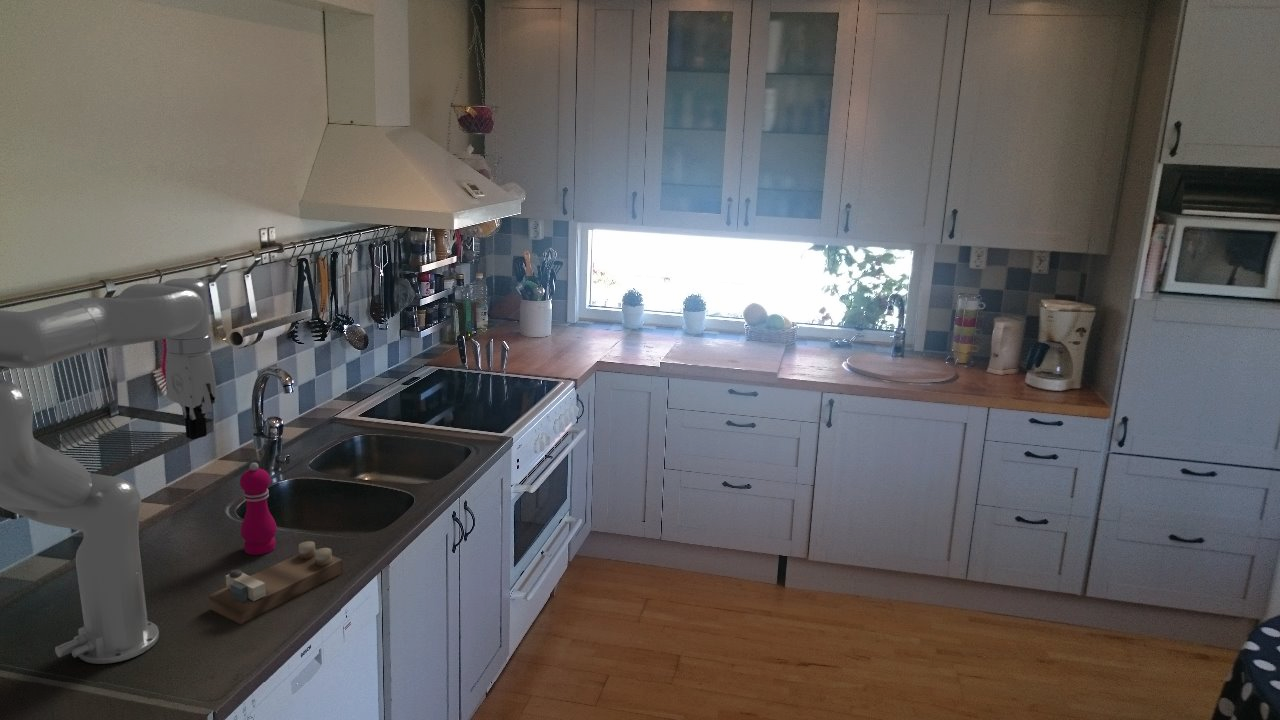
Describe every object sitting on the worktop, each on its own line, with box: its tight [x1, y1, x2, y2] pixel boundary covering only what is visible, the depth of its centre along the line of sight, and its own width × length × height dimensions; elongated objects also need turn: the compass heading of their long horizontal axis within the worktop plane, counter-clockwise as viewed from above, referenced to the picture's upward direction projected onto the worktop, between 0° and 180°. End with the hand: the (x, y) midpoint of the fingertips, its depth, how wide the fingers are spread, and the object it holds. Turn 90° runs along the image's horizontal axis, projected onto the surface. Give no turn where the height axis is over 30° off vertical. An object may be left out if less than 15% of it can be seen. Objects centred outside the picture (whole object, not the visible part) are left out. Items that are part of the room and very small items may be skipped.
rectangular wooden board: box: [208, 540, 344, 625], centre depth 177 cm, size 24×9×6 cm, turn 149°
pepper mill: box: [239, 462, 278, 556], centre depth 192 cm, size 7×7×20 cm
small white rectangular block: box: [225, 568, 266, 601], centre depth 170 cm, size 8×3×3 cm, turn 58°
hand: (196, 436), depth 172 cm, fingers closed
